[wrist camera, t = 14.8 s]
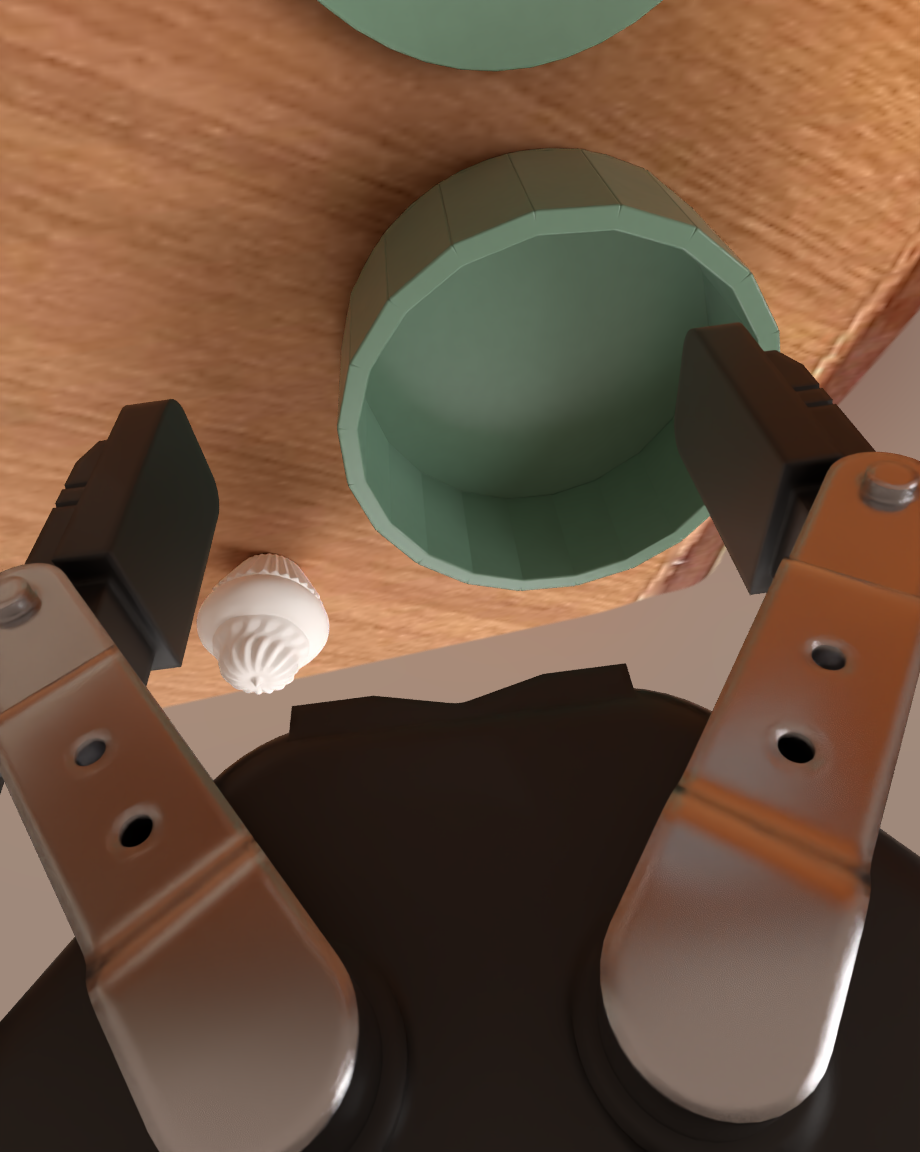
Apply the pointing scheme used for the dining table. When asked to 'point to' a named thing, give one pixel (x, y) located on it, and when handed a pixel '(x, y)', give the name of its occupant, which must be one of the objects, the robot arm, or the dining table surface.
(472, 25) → the tin lid
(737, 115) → the dining table surface
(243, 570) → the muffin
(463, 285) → the tin
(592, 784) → the robot arm
